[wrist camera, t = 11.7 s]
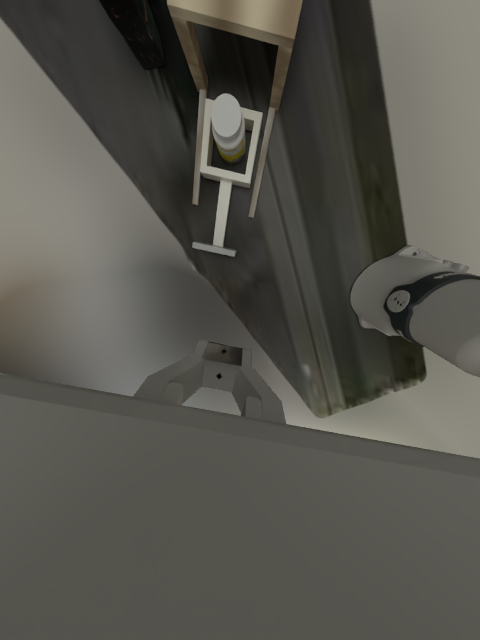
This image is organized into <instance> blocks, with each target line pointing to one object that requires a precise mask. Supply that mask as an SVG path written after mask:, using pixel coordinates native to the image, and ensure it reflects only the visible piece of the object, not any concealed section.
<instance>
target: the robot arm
mask: <svg viewBox="0 0 480 640" xmlns="http://www.w3.org/2000/svg"><path fill="white" fill-rule="evenodd" d="M413 253H414V254H413ZM412 254H413V255H412ZM468 269H469V267H468V266H465V265H462V264H456V263H453V262H451V261H447V260H443V261H442V260H440V259H438V258H436V257H434V256H432V255H430V254H428V253H427V252H425V251H423V250H421V249H419V248H417V247H415V246H411V245H407V246H405V247H403V248H402V249H400V250H399V251H397V252H396V253H395V254H394V255H392V256H390V257H387V258H384V259H381V260H379V261H377V262H375V263H373V264H372V265H370V266H369V267H368V268H366V269H365V270H364V271H363V272H362V273H361V274H360V276H359V277H358V278H357V280H356V281H355V283H354V285H353V287H352V290H351V295H350V301H351V306H352V308H353V310H354V311H355V312H356V314H357V315H358V318H359V324H360V326H362V327H364V328H376V329H378V330H379V331H381V332H383V333H384V334H386V335H388V336H392V335H394V336H402V337H403V338H404V339H406V340H408V341H410V342H412V343H414V344H416V345H419V346H422V347H426V348H428V349H429V350H431V351H432V352H434V353H436V354H437V355H439V356H441V357H442V358H444V359H445V360H447V361H449V362H450V363H452V364H454V365H455V366H457V367H458V368H460V369H462V370H463V371H465V372H467V373H469V374H472V375H475V376H478V377H480V277H479V276H476V275H472V274H468V273H465V272H466V271H467V270H468ZM201 386H202V387H208V388H214V389H220V390H224V391H229V392H232V394H233V396H234V398H235V401H236V403H237V405H238V407H239V409H240V411H241V416H238V415H232V414H227V413H220V412H215V411H210V410H204V409H199V408H193V407H187V406H182V404H183V403H184V402H185V401H186V400H187V399H188V398H189V397H190V396H191V395H193V394H194V393H195V392H196V391H197V390H198V389H199V388H201ZM0 640H480V459H479V458H473V457H467V456H461V455H456V454H450V453H444V452H439V451H433V450H427V449H422V448H417V447H411V446H405V445H400V444H394V443H389V442H382V441H377V440H371V439H366V438H360V437H355V436H349V435H343V434H338V433H333V432H327V431H321V430H316V429H310V428H305V427H299V426H293V425H288V424H286V421H285V417H284V412H283V406H282V402H281V400H280V399H279V398H278V397H277V396H276V394H275V393H274V392H273V391H272V390H271V388H270V387H269V386H268V385H267V383H266V382H265V381H264V380H263V379H262V377H261V376H260V375H259V374H258V373H257V371H256V370H255V369H252V351H251V350H250V349H244V348H237V347H232V346H226V345H223V344H218V343H214V342H208V341H204V340H199V342H198V344H197V346H196V348H195V350H194V352H193V354H192V356H191V357H189V356H188V357H186V358H184V359H182V360H180V361H178V362H176V363H174V364H172V365H170V366H168V367H166V368H164V369H162V370H160V371H158V372H156V373H154V374H152V375H150V376H148V377H147V378H146V380H145V381H144V382H143V384H142V385H141V387H140V388H139V389H138V390H137V392H136V393H135V395H134V396H133V397H131V396H126V395H120V394H115V393H109V392H104V391H98V390H93V389H87V388H82V387H76V386H70V385H64V384H59V383H53V382H48V381H42V380H37V379H31V378H26V377H20V376H15V375H9V374H3V373H0Z"/></svg>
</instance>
